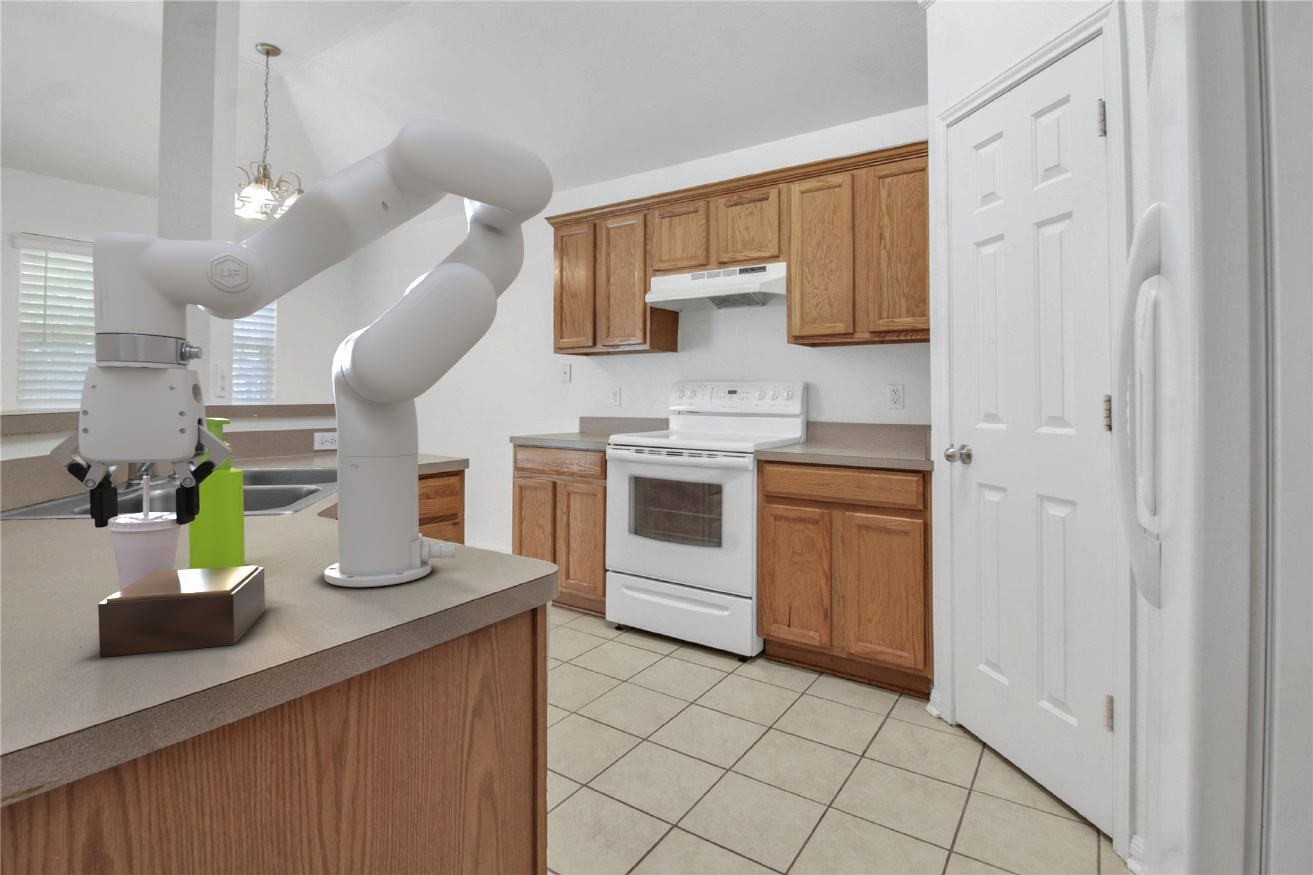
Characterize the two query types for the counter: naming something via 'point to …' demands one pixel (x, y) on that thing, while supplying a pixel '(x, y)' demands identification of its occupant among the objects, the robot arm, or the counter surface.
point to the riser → (181, 610)
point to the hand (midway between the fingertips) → (147, 522)
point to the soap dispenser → (218, 514)
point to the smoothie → (144, 541)
